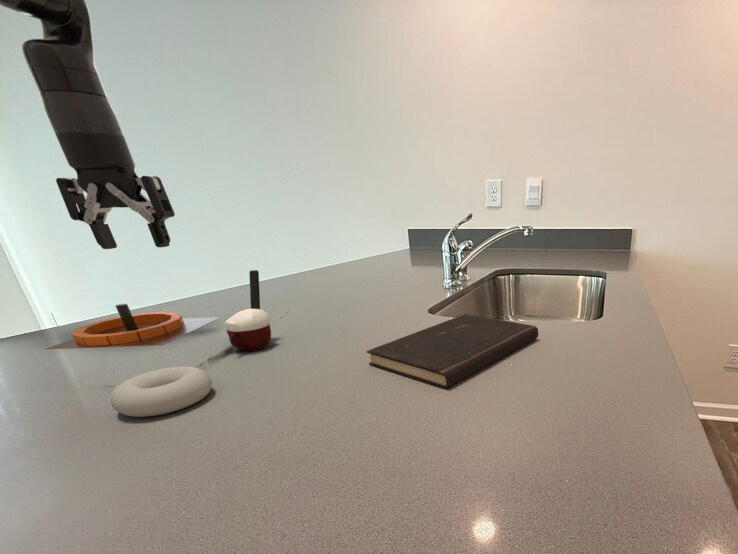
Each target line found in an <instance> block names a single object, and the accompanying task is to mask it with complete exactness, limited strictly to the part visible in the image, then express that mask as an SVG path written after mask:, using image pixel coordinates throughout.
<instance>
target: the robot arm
mask: <svg viewBox="0 0 738 554" xmlns="http://www.w3.org/2000/svg"><path fill="white" fill-rule="evenodd" d="M0 6H1V7H3V8H6V9H7V10H11V11H13V12H16V13H18V14H21V15H24V16H25V15H26V16H27V17H30V18H34V19H36V20H39V21H40V23H41V28H42V36H43V38H30V39H27V40H25V41H23V43H22V46H21V50H22V53H23V56H24V60H25V62H26V64H27V67H28V69H29V71H30V73H31V75H32V78H33V80H34V82H35V85H36V87H37V90H38V91H39V94H40V97H41V100H42V104H43V107H44V110H45V113H46V116H47V118H48V120H49V123H50V125H51V128H52V130H53V132H54V135H55V136H56V139H57V141H58V143H59V146H60V148H61V150H62V152H63V154H64V157H65V159H66V161H67V164H68V166H69V167H71V168H72V169H73V170H74V171H75V172H76V176H77V177H76V178H74V177H57V178H56V179H55V182H56V185H57V187H58V190H59V193H60V194H61V197H62V200H63V202H64V204H65V207H66V209H67V212H68V215H69V217H70V219H72V220H73V221H80V222H82V223H85V224H87V225H88V226H89V228H90V230H91V232H92V235H93V237H94V239H95V242H96V243H97V245H98V246H100V247H101V249H103V250H113V249H116V248H118V244H117V243H116V240H115V237H114V235H113V232H112V230H111V227H110V226H109V224H108V223H106V220H107V217H108V213H109V212H111V211H112V208H113V209H114V208H129V209H130V210H131V211H133V212H135V213H137V214H139V216H141V217H142V218H143V219H144V220H145V221H147V222H148V223H147V224H146V225H147V227H148V230H149V232H150V234H151V238H152V240H153V242H154V245H155V247H156V248H167V247H169V246H170V243H171V237H170V233H169V231H168V229H167V226H166V223H165V221H166V220H168V219H170V218H174V217H175V216H176V215H175V214H176V213H175V210H174V209H173V206H172V203H171V201H170V199H169V197H168V193H167V192H166V189H165V186H164V184H163V182H162V180H161V178H160V177H159V176H157V175H142V176H141V177H139V176H138V175H137V172H136V171H135V168H136V163H135V162H134V159H133V156H132V153H131V151H130V148H129V146H128V142H127V139H126V138H125V135H124V131H123V129H122V126H121V124H120V122H119V119H118V116H117V114H116V112H115V111H114V108H113V107H112V105H111V102H110V101H109V98H108V95H107V93H106V89H105V88H104V85H103V82H102V79H101V77H100V74H99V71H98V69H97V67H96V62H95V49H94V40H93V32H92V31H93V30H92V21H91V15H90V11H89V6H88V4H87V1H86V0H0ZM142 190H143V191H145V192H146V194H147V197H146V196H145V195H144V194H143V193H142ZM84 192H85V193H86V196H85V194H84Z"/></svg>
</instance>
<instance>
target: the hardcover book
mask: <svg viewBox="0 0 738 554" xmlns="http://www.w3.org/2000/svg"><path fill="white" fill-rule="evenodd" d="M538 337H539V328H538V326H536V325H531V324H526V323H522V322H521V323H520V322H517V321H510V320H504V319H499V318H495V317H494V318H493V317H487V316H481V315H477V314H471V313H464V314H462V315H458V316H456V317H453V318H451V319H448V320H446V321H443V322H440V323H438V324H435V325H432V326H430V327H427V328H424V329H422V330H419V331H416V332H414V333H411V334H408V335H405V336H403V337H400V338H397V339H395V340H392V341H389V342H386V343H384V344H381V345H379V346H376V347H373V348H371V349H370V348H369V349H368V350H366V354H369V355H370V357H369V359H370V360H371V361H370V362H368V366H372V367H375V368H377V369H378V368H379V369H381V370H384V371H388V372H390V373H394V374H397V375H401V376H404V377H406V378H410V379H413V380H416V381H419V382H423V383H425V384H429V385H432V386H434V387H438V388H440V389H447V388H449V387H450V386H453V385H455V384H456V383H458V382H460V381H461V380H463V379H465V378H467V377H469V376H471V375H472V374H475V373H476V372H478V371H480V370H483V368H486V367H487V366H489V365H491V364H492V363H495V362H496V361H497V360H500V359H501V358H503V357H506V356H507V355H509V354H511V353H512V352H515V351H516V350H518V349H520V348H521V347H523V346H525V345H527V344H529V343H530V342H532V341H534V340H536V339H538Z"/></svg>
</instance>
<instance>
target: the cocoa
mask: <svg viewBox="0 0 738 554" xmlns="http://www.w3.org/2000/svg"><path fill="white" fill-rule="evenodd" d="M248 276H249V297H250V300H249V301H250V308H247V309H243V310H240V311H237V312H236V313H235V314H233V315H232V316H231V317H228V319H226V321H225V322H224V327H225V329H226V333H227V335H228V339H229V343H230V344H231V345H232V346H233V347H234V348H236V349H238V350H242V351H247V352H248V351H249V352H250V351H257V350H262V349H263V348H265V347H267V346H268V345H269V344H270V343H271V340H272V330H271V325H270V324H271V318H270V315H269V313H267V312H266V311H264V310H263V309H261V299H260V293H261V292H260V271H259V270H257V269H253V270H251V269H250V271H249V275H248Z"/></svg>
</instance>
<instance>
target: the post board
mask: <svg viewBox="0 0 738 554" xmlns="http://www.w3.org/2000/svg"><path fill="white" fill-rule="evenodd" d="M115 309H116V311H117V313H118V315H119V317H121V319H122V322H123V324H124V326H122V327H118V328H113V329H109V330H105V331H103V332H100V333H97V334H112V333H119V332H126V331H133V330H138V329H142V328H146V327H150V326H155V325H158V324H161V323H163V322H147V323H140V324H136V323H135V321H134V318H133V316H132V315H133V314H132V312H131V309H130V307H129V305H128V303H119V304H116V305H115ZM221 318H222V316H221V317H220V316H213V317H186V318H183V317H182V319H183V321H184V322H183V326H182V327H181V328H178V329H176V330H174V331H172V332H170V333H166V334H164V335H160V336H156V337H153V338H149V339H145V340H140V341H135V342H129V343H122V344H116V345H112V344H111V345H104V346H84V345H81V344H77V343H76V342H75V340H74V339H73V338H71V339H69V340H66V341H63V342H59V343H57V344H55V345H51V346H49V347H46V348H45V350H62V349H93V348H115V347H116V348H119V347H121V348H122V347H145V346H165V345H167V344H169V343H171V342H173V341H176V340H177V339H179V338H182V337H184V336H185V335H187V334H189V333H192V332H194V331H196V330H198V329H200V328H203V327H204V326H206V325H208V324H210V323H212V322H214V321H217V320H219V319H221Z"/></svg>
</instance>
